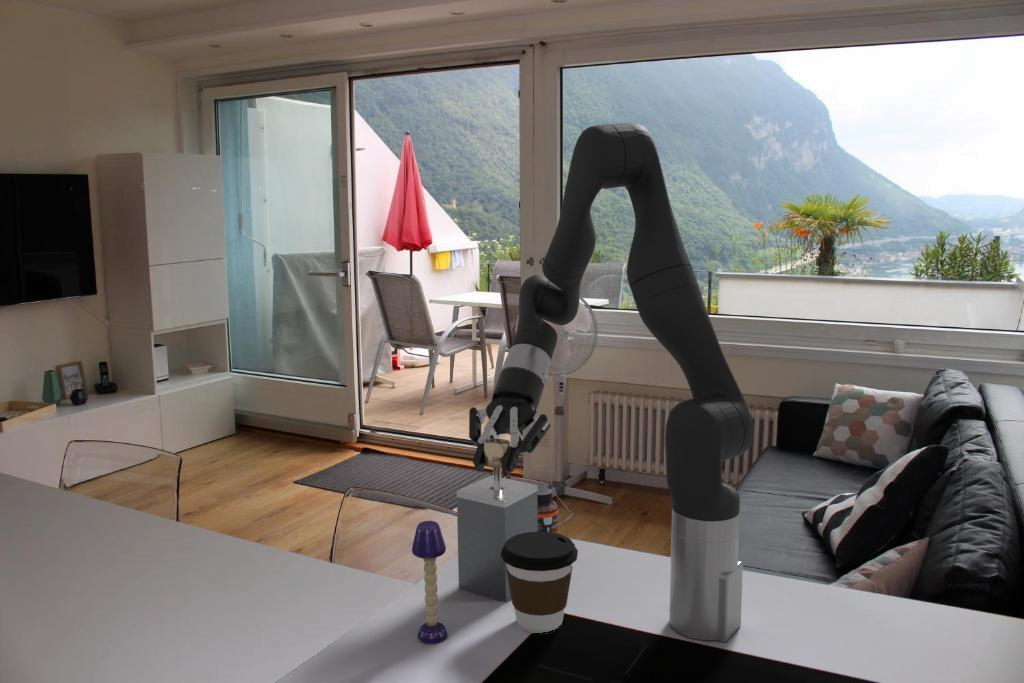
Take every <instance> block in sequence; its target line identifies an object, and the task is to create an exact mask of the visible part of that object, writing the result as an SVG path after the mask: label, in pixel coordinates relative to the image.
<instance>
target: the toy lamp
mask: <svg viewBox="0 0 1024 683" xmlns="http://www.w3.org/2000/svg"><path fill="white" fill-rule="evenodd" d="M445 552H447V547H446V542H445V539H444V536H443V533H442V529H441V527H440V524H439V523H438V522H437V521H434V520H426V521H425V520H424V521H422V522H418V524H417V525H416V529H415V533H414V538H413V542H412V547H411V553H412V554H413V556H414V557H416V558H420V559H423V562H424V564H423V571H424V575H423V576H424V579H423V580H424V583H425V584H424V592H425V596H424V602H425V608H424V610H425V614H426V616H425V623H423V624H422V625H420V627H419V629H418V631H417V639H418V640H419V642H422V643H423V644H429V645H430V644H431V645H432V644H440V643H441V642H444V641H446V640H447V638H448V637H449V632H448V628H447V627H446V625H444V624H443V623H442V622H441V621H439V615H438V611H439V606H438V599H439V598H438V593H437V592H438V589H439V588H438V583H437V581H438V574H437V573H436V572H437V569H438V568H437V567H438V566H437V563H436V561H437V558H439V557H442V556H443V555H445Z"/></svg>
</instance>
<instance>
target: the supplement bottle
mask: <svg viewBox="0 0 1024 683" xmlns="http://www.w3.org/2000/svg"><path fill="white" fill-rule="evenodd" d="M537 509H538V532H551V533H556V534H559V530H558V529H559V521H558V520H559V513H558V512H559V507H558V504H557V503H556V502H555V501H554V500H553V490H552V489H550V488H549V487H537Z"/></svg>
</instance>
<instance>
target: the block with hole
mask: <svg viewBox="0 0 1024 683" xmlns="http://www.w3.org/2000/svg"><path fill="white" fill-rule="evenodd" d="M537 488H538V484H534V483H529V482H523V481H519V480H514V479H509V478H506V477H501V490H500V491H498V490H494V483H493V475H489V476H487V477H485V478H482V479H479V480H478V481H475V482H473V483H471V484H469V485H467V486H464V487H462V488H460V489H457V490H456V514H457V515H456V516H457V518H456V520H457V521H456V522H457V558H458V559H457V562H458V564H457V565H458V567H457V568H458V569H457V570H458V589H459V588H461V589H460V590H462V589H465V590H464V591H466V590H468V591H467V592H469V591H470V592H469V593H472V592H473V594H476V595H479V594H480V595H479V596H483V597H486V598H489V599H493V600H496V601H499V602H502V601H503V603H505V602H506V603H508V602H510V599H511V594H510V588H509V582H508V576H507V570H506V568H507V564H506V563H505V562H504V561H503V559H502V557H501V551H502V548H503V546H504V545H505V542H506V541H507V540H508V539H510V538H511V537H513V536H515V535H518V534H522V533H527V532H538V509H537ZM511 600H512V599H511ZM507 601H508V602H507Z"/></svg>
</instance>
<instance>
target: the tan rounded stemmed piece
mask: <svg viewBox="0 0 1024 683" xmlns="http://www.w3.org/2000/svg"><path fill="white" fill-rule="evenodd" d="M510 447H511V446H510V440H508V439H506V438H499V439H489V440H486V441H484V465H485V467H487V468H490V469H491V468H492V470H493V471H492V474H493V475H492V476H493V483H494V490H498V491H500V490H501V478H502V469H501V468H502V464H503V461H504V458H505V455H506V452H507V449H508V448H510Z"/></svg>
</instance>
